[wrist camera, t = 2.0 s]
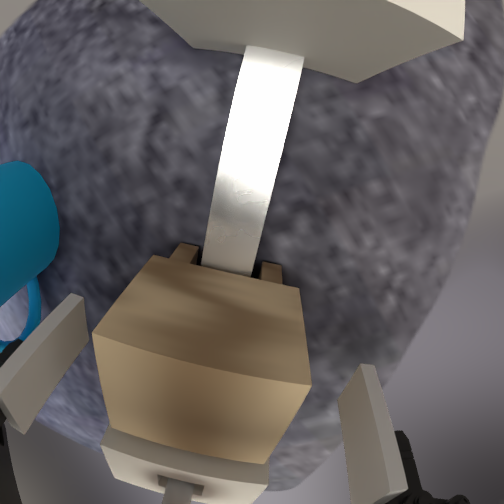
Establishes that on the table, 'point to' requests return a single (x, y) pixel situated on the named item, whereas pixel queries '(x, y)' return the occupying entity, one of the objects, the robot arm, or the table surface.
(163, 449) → the cabinet
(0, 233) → the mug
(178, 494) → the plunger
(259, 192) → the rail
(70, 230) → the table surface
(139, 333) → the block
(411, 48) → the cabinet
